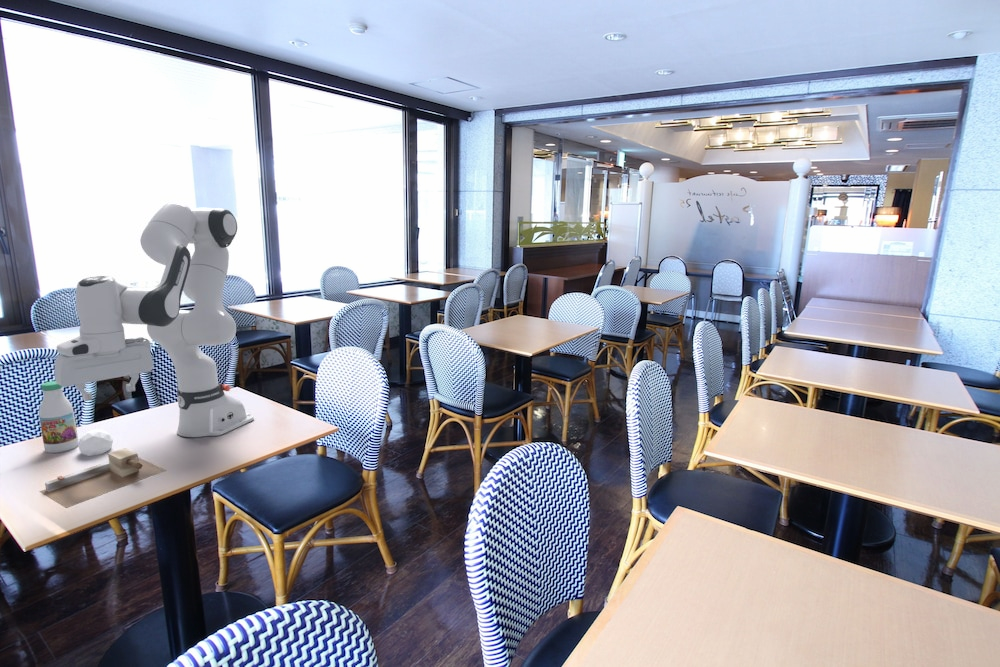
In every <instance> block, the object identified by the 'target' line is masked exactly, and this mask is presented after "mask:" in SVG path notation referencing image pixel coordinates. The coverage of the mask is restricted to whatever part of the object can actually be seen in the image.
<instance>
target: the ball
mask: <svg viewBox="0 0 1000 667" xmlns="http://www.w3.org/2000/svg"><path fill="white" fill-rule="evenodd" d="M78 442H79V444H78V446H77V447H78V449H79V452H80V453H81V455H83V456H87V457H88V456H89V457H92V456H98V455H102V454H104V453H107V452H109V451H110V450H111V449H112V446H113V442H114V439H113V438H112V436H111V434H110V433H109V432H107V431H106V430H104V429H96V428H95V429H92V430H90V431H89V430H88V431H87V432H85V433H83V435H82V436H81V437H80V438H79V439H78Z"/></svg>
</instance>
